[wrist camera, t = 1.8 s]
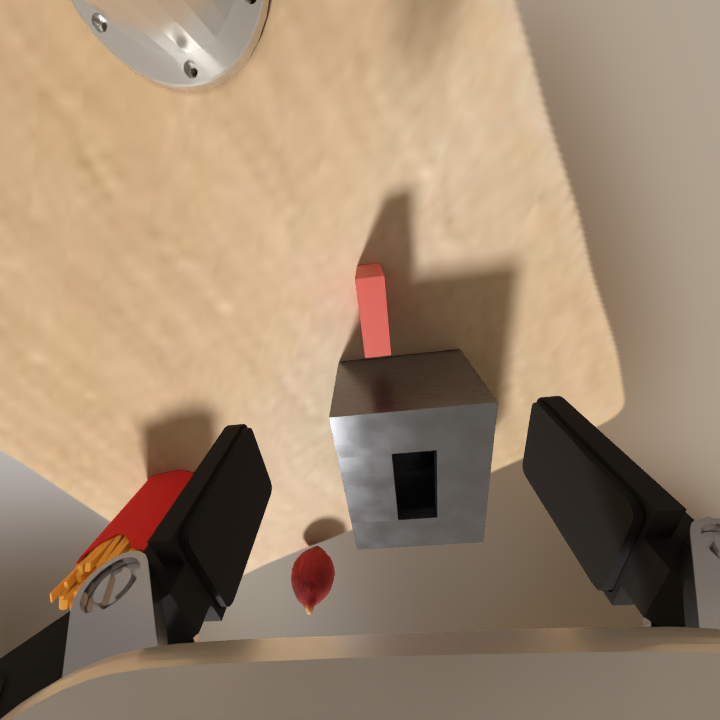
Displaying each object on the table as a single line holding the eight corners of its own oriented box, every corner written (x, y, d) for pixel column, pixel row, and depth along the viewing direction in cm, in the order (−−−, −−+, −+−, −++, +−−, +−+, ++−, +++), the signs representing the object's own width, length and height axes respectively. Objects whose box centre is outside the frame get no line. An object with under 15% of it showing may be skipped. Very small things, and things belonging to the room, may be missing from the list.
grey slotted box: (338, 362, 29) (329, 417, 21) (459, 349, 28) (497, 402, 20) (358, 475, 36) (357, 549, 28) (455, 467, 35) (483, 541, 27)
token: (356, 265, 25) (355, 279, 20) (379, 262, 25) (384, 275, 20) (365, 330, 28) (365, 358, 22) (385, 328, 28) (391, 355, 22)
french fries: (196, 465, 36) (115, 585, 24) (213, 488, 38) (145, 611, 26) (132, 479, 37) (26, 600, 25) (152, 501, 39) (61, 623, 27)
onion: (290, 550, 43) (276, 616, 36) (308, 530, 41) (296, 596, 34) (324, 562, 45) (317, 629, 37) (343, 543, 42) (339, 610, 35)
